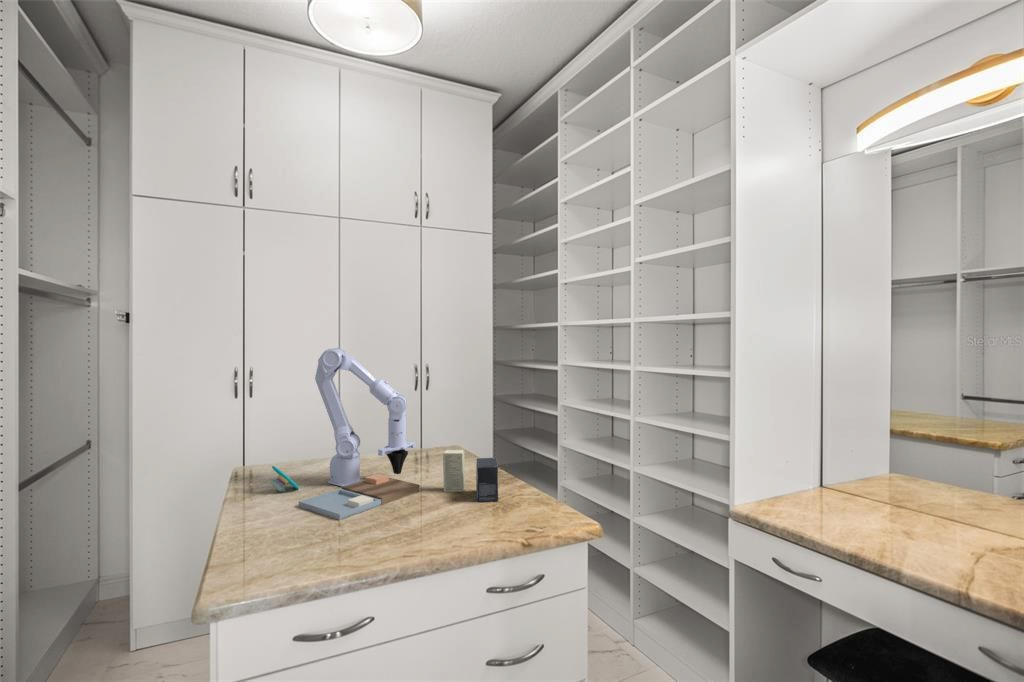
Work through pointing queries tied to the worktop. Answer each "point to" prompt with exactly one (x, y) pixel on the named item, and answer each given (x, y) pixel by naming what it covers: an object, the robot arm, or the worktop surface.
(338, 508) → the box
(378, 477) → the terracotta tile
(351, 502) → the cream tile
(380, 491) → the walnut board
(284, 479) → the ornament
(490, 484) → the small box
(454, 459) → the skincare box
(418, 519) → the worktop surface
